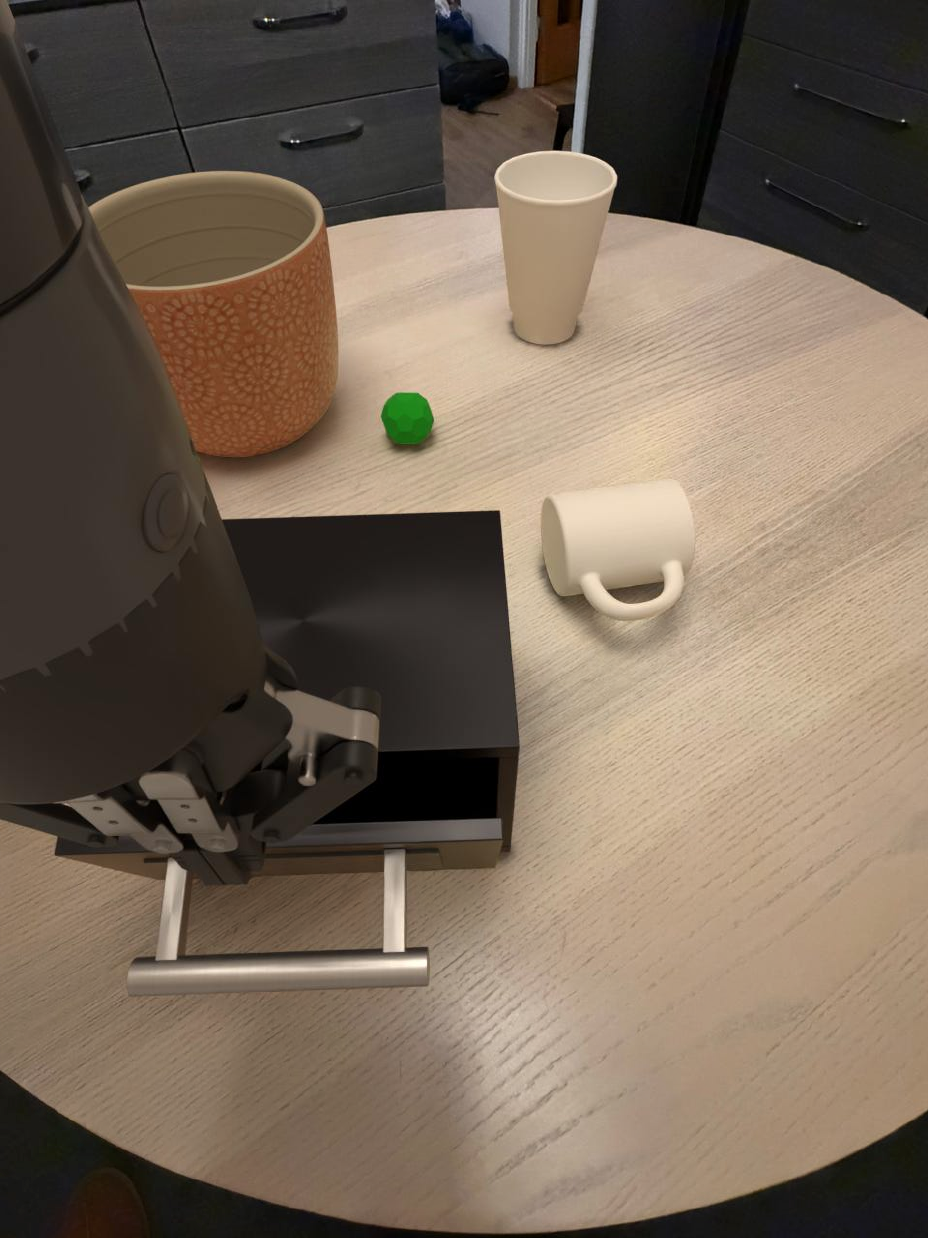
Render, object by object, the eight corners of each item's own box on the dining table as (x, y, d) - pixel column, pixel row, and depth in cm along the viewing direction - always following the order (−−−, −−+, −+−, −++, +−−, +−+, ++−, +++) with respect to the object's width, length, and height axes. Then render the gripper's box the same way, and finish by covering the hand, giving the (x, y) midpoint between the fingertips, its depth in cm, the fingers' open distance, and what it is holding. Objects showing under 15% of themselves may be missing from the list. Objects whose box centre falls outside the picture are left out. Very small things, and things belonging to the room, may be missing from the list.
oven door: (143, 990, 42) (25, 1002, 31) (159, 862, 44) (57, 832, 33) (500, 977, 42) (511, 985, 31) (494, 851, 44) (502, 817, 34)
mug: (537, 545, 64) (543, 473, 57) (649, 528, 64) (668, 456, 58) (574, 658, 56) (586, 590, 50) (700, 638, 57) (728, 569, 51)
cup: (492, 299, 88) (495, 149, 76) (593, 300, 88) (612, 149, 75) (491, 356, 81) (493, 201, 68) (600, 357, 81) (623, 201, 68)
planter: (337, 346, 83) (306, 157, 68) (371, 465, 70) (342, 265, 55) (145, 377, 80) (68, 186, 65) (145, 507, 67) (50, 308, 52)
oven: (159, 873, 47) (51, 763, 35) (206, 663, 57) (134, 521, 45) (509, 861, 47) (519, 747, 35) (495, 653, 57) (500, 509, 45)
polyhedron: (417, 416, 75) (414, 375, 71) (444, 442, 72) (442, 400, 68) (374, 435, 73) (368, 393, 69) (400, 462, 71) (396, 420, 67)
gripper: (369, 377, 16) (417, 760, 29) (-262, 391, 16) (80, 769, 29) (340, 674, 11) (413, 965, 25) (-556, 695, 11) (14, 975, 25)
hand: (232, 858), depth 27 cm, fingers closed
